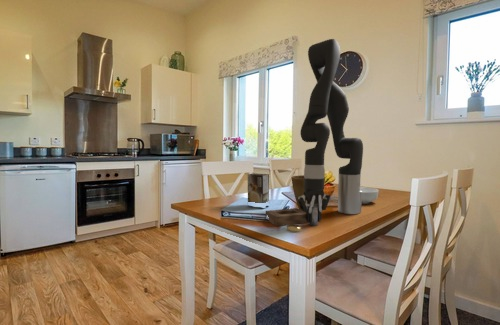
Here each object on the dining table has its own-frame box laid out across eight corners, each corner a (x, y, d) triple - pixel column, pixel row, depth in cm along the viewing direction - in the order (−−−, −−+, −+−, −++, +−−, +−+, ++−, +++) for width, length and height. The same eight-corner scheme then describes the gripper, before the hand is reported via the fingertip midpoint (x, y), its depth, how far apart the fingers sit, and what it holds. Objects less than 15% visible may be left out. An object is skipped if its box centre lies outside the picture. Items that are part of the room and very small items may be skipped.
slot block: (295, 216, 116) (295, 208, 116) (309, 222, 107) (309, 213, 107) (265, 219, 111) (265, 210, 111) (276, 226, 102) (276, 217, 102)
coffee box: (269, 206, 134) (270, 174, 133) (263, 209, 129) (263, 175, 128) (254, 204, 139) (254, 172, 138) (247, 206, 134) (247, 174, 133)
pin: (314, 223, 106) (314, 205, 106) (319, 225, 103) (319, 207, 103) (307, 223, 105) (307, 205, 104) (312, 226, 102) (312, 207, 101)
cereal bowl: (346, 198, 156) (346, 185, 156) (378, 200, 149) (378, 187, 148) (342, 203, 141) (342, 190, 141) (377, 207, 134) (378, 192, 133)
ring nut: (296, 227, 101) (296, 223, 101) (304, 231, 96) (304, 227, 96) (284, 229, 99) (284, 225, 99) (291, 233, 94) (291, 229, 94)
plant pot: (325, 209, 129) (325, 175, 128) (323, 217, 115) (324, 179, 114) (293, 207, 133) (294, 174, 132) (288, 214, 119) (288, 178, 118)
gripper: (323, 174, 109) (323, 217, 110) (292, 176, 104) (292, 221, 105) (336, 177, 102) (335, 222, 103) (303, 178, 97) (302, 226, 98)
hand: (313, 221), depth 104 cm, fingers closed on pin, 3 cm apart
